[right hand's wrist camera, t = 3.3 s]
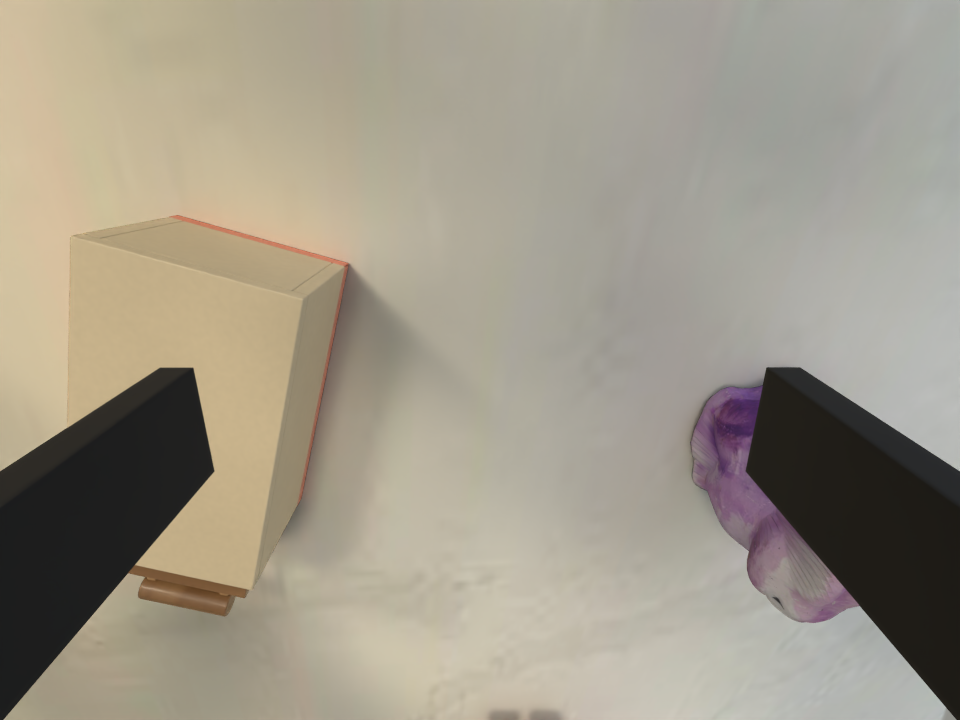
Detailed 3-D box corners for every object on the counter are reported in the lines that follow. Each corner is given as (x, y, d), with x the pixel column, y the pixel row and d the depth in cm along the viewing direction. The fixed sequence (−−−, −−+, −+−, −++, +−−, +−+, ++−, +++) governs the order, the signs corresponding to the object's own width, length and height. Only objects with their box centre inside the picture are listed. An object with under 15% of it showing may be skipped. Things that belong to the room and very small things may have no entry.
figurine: (704, 519, 41) (822, 710, 27) (658, 411, 37) (765, 563, 23) (827, 472, 39) (1022, 647, 25) (791, 355, 36) (991, 480, 22)
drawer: (275, 576, 42) (234, 660, 35) (150, 549, 41) (83, 629, 34) (327, 305, 34) (288, 343, 27) (175, 264, 33) (94, 292, 26)
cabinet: (301, 498, 40) (252, 591, 32) (155, 464, 39) (64, 550, 30) (348, 263, 34) (303, 299, 25) (177, 215, 33) (69, 235, 24)
